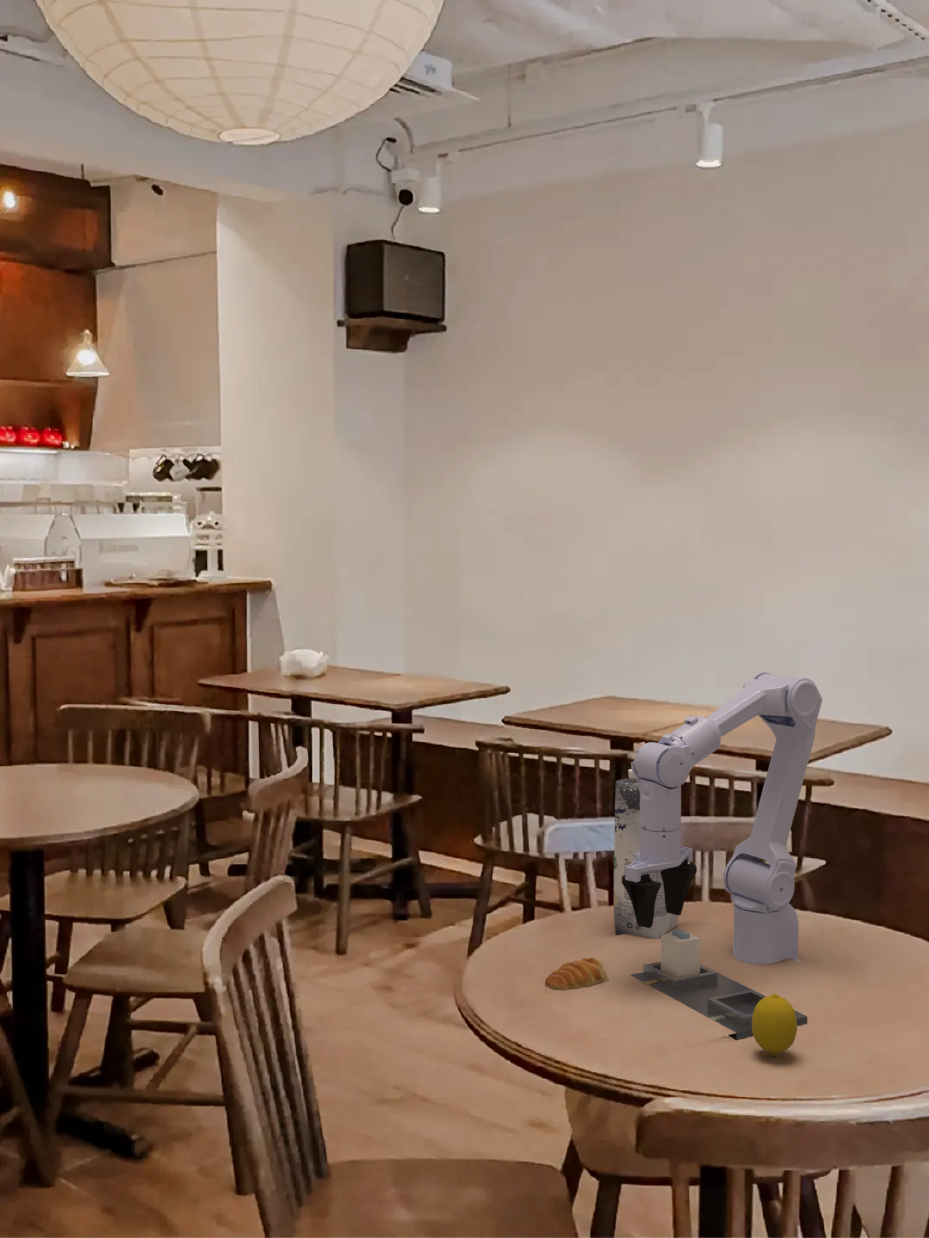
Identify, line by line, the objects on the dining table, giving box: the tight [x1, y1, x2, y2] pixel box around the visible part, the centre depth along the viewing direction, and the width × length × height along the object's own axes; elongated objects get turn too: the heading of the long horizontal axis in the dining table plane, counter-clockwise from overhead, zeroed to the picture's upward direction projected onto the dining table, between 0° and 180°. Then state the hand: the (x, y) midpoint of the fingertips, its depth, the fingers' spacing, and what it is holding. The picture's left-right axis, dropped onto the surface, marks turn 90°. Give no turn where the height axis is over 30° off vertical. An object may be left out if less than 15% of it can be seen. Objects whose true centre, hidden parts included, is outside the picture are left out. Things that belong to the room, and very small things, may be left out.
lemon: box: [752, 992, 798, 1057], centre depth 163 cm, size 6×6×8 cm
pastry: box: [544, 957, 610, 991], centre depth 187 cm, size 9×7×4 cm
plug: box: [660, 928, 701, 979], centre depth 188 cm, size 4×4×7 cm
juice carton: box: [613, 768, 682, 940], centre depth 210 cm, size 9×10×27 cm
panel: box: [630, 961, 808, 1041], centre depth 181 cm, size 12×24×2 cm, turn 28°
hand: (659, 919), depth 187 cm, fingers open, 7 cm apart
